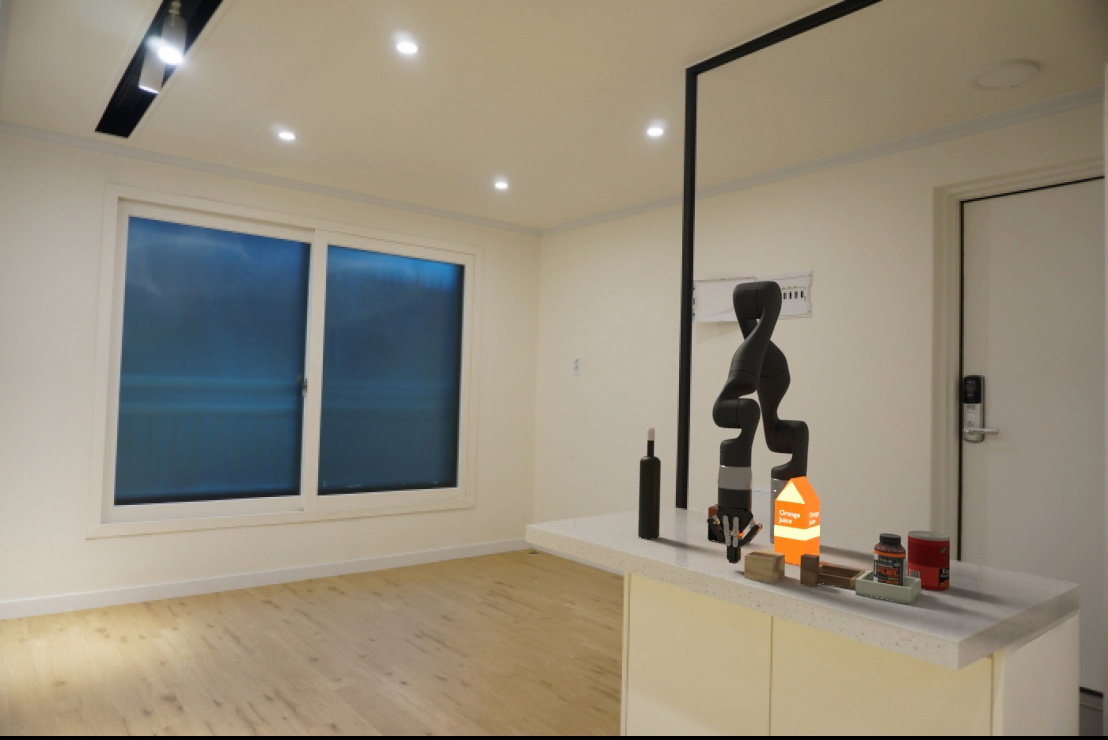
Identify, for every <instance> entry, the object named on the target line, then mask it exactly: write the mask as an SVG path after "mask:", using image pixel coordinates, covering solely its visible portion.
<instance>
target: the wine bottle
mask: <svg viewBox="0 0 1108 740" xmlns="http://www.w3.org/2000/svg"><path fill="white" fill-rule="evenodd" d="M655 439H656V428H655V427H647V429H646V440H647V441H646V442H647V443H646V455H645V456H642V457H641V458H640V460H639V480H638V481H639V482H638V483H639V485H638V486H639V487H638V490H639V491H638V495H639V496H638V524H637V527H638V528H637V529H638V530H637V533H638V534H637V535H638V536H639V537H641V538H640V539H643V538H647V539H646V540H652V539H651V538H658V537H659V538H660V526H661V525H660V520H661V518H660V516H661V515H660V514H661V513H660V512H661V474H662V473H661V472H662V471H661V470H662V469H661V467H662V461H661V459H660V458H659V457H658V456H655ZM638 536H637V537H638ZM639 537H638V538H639ZM659 538H658V539H659Z"/></svg>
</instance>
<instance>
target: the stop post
mask: <svg viewBox="0 0 1108 740" xmlns="http://www.w3.org/2000/svg"><path fill="white" fill-rule="evenodd" d="M819 565H820V555H819V556H818V555H812V554H806V553H805V554H803V555H801V556H800V565H799V567H800V568H799V571H800V572H799V573H800V574H799V585H801V584H805V585H804V586H806V585H809V586H808V587H811V586H814V587H813V588H815V587H817V586H819V585H820V583H819ZM818 584H819V585H818ZM816 585H817V586H816Z"/></svg>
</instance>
